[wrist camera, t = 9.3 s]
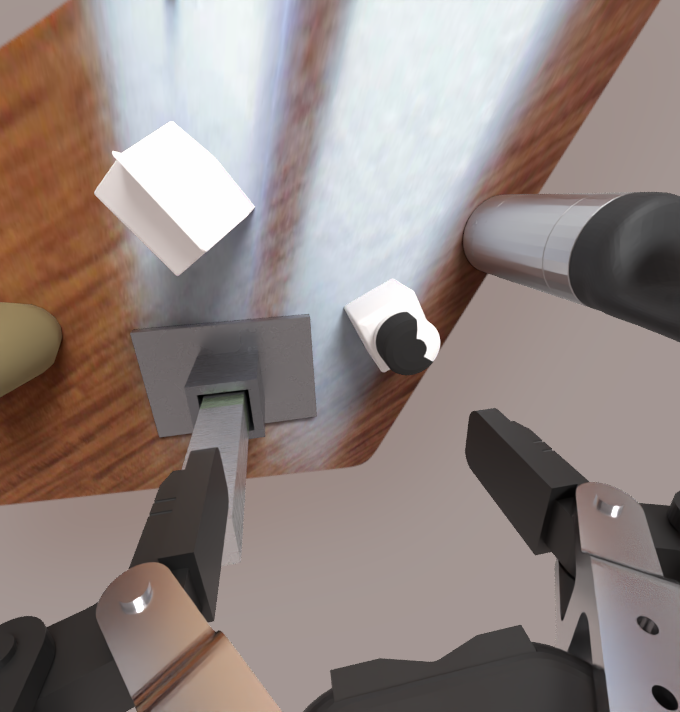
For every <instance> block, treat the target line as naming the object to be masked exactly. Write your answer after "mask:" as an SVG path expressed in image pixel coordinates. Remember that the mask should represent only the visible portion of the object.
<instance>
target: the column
mask: <svg viewBox="0 0 680 712" xmlns="http://www.w3.org/2000/svg"><path fill="white" fill-rule="evenodd" d="M249 422H250V415H249V408H248V402H247V395H246V390H237V391H229V392H220V393H212V394H204V397H203V400H202V404H201V407H200V410H199V414H198V417H197V420H196V424H195V427H194V430H193V434H192V437H191V440H190V444H189V447H188V450H187V454H186V457H185V460H184V464H183V467H182V470H185V467H186V464H187V461H188V457H189V454H190V452H191V451H193V450H200V449H207V448H214V447H218V448H219V451H220V455H221V459H222V464H223V468H224V473H225V478H226V482H227V487H228V496H229V508H228V516H227V524H226V532H225V539H224V547H223V555H222V563H221V566H224V565H229V564H234V563H239V562H241V551H242V550H241V549H242V533H243V519H244V502H245V485H246V470H247V454H248V438H249Z"/></svg>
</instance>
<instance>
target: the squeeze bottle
mask: <svg viewBox="0 0 680 712" xmlns="http://www.w3.org/2000/svg"><path fill="white" fill-rule="evenodd" d="M61 340H62V331H61V326H60V325H59V323H58V322H57V320H56V319H55V317H54V316H52V315H51V314H50V313H49V312H47V311H46V310H45V309H43V308H40V307H37V306H35V305H32V304H18V303H3V302H0V397H2V396H3V395H5V394H7V393H9V392H10V391H12V390H14V389H16V388H17V387H19V386H21V385H23V384H24V383H26V382H28V381H30V380H31V379H33V378H35V377H37V376H38V375H40V374H42V373H43V372H45V371H46V370H47V369H48V368H49V367H50V366H51V365H52V364H54V361H55V358H56V355H57V352H58V349H59V346H60V343H61Z"/></svg>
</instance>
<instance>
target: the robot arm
mask: <svg viewBox="0 0 680 712" xmlns="http://www.w3.org/2000/svg"><path fill="white" fill-rule="evenodd" d="M463 247H464V252H465V255H466V257H467V259H468V261H469V262H470V263H471V265H472V266H474V267H475V268H476V269H478V270H480V271H483V272H485V273H488V274H492V275H495V276H497V277H500V278H503V279H506V280H509V281H512V282H515V283H518V284H521V285H524V286H527V287H530V288H533V289H536V290H539V291H542V292H545V293H548V294H551V295H554V296H557V297H560V298H563V299H566V300H570V301H572V302H575V303H578V304H581V305H584V306H588V307H590V308H593V309H596V310H599V311H602V312H604V313H606V314H608V315H611V316H613V317H616V318H618V319H621V320H625V321H627V322H630V323H633V324H635V325H638V326H641V327H643V328H646V329H648V330H651V331H653V332H656V333H659V334H661V335H664V336H666V337H668V338H671V339H673V340H676V341H678V342H680V196H677V195H674V194H671V193H662V192H637V193H636V192H634V193H633V192H632V193H583V194H582V193H579V194H511V195H497V196H494V197H491V198H489V199H487V200H485V201H484V202H483V203H482V204H480V205H479V206H478V207H477V208H476V209H475V211H474V212H473V213H472V215H471V216H470V218H469V220H468V222H467V225H466V227H465V231H464V236H463ZM465 454H466V459H467V462H468V465H469V467H470V469H471V470H472V471H473V473H474V474H475V475H476V477H477V478H478V479H479V481H480V482H481V484H482V485H483V486H484V488H485V489H486V490H487V492H488V493H489V494H490V495H491V497H492V498H493V500H494V501H495V502H496V504H497V505H498V506H499V508H500V509H501V510H502V512H503V513H504V514H505V516H506V517H507V518H508V520H509V521H510V522H511V523H512V525H513V526H514V528H515V529H516V530H517V532H518V533H519V534H520V536H521V537H522V538H523V539H524V541H525V542H526V544H527V545H528V546H529V548H530V549H531V550H532V551H533V553H534V554H535V555H538V554H544V553H548V552H552V553H553V554H554V555H555V556H556V558H557V559H556V563H555V599H556V600H555V602H556V640H555V646H554V647H553V646H550V645H546V644H541V643H536V642H531V641H530V639H529V638H528V636H527V634H526V633H525V631H524V629H523V628H522V626H521V625H518V626H514V627H509V628H505V629H501V630H497V631H493V632H489V633H484V634H480V635H477V636H475V637H474V638H472V639H470V640H469V641H467V642H466V643H464V644H463V645H461V646H460V647H458V648H456V649H455V650H453V651H452V652H450V653H449V654H447V655H446V656H444V657H443V658H441V659H439V660H437V661H434V662H423V661H408V660H394V659H376V660H372V661H367V662H363V663H359V664H355V665H350V666H346V667H343V668H338V669H334V670H331V671H330V673H331V683H332V688H331V689H330V690H328V691H327V692H325V693H323V694H322V695H321V696H319V697H318V698H317V699H316V700H314V701H313V702H312V703H311V704H310V705H309V706H308V707H307V708H306V709H305V710H304V711H303V712H680V491H679V492H677V493H676V494H675V496H674V498H673V500H672V503H671V505H670V506H666V505H655V504H643V503H638V502H637V501H636V500H635V499H634V498H633V497H632V496H630V495H629V494H627V493H626V492H624V491H622V490H620V489H618V488H616V487H613V486H611V485H607V484H603V483H597V482H589V481H588V480H587V479H585V478H584V477H583V476H582V475H581V474H580V473H579V472H578V471H576V470H575V469H574V468H573V467H572V466H571V465H570V464H569V463H568V462H566V461H565V460H564V459H563V458H562V457H561V456H560V455H558V454H557V453H556V452H555V451H552V448H551V447H549V446H548V445H547V444H546V443H545V442H542V440H541V439H540V438H539V437H538V436H537V435H536V434H535V433H533V432H532V431H531V430H530V429H528V428H526V427H524V426H522V425H520V424H519V423H517V422H515V421H510V420H509V419H507V418H506V417H505V416H504V415H503V414H502V413H501V412H500V411H499V410H497V409H495V408H493V409H487V410H479V411H473V412H471V414H470V416H469V424H468V432H467V440H466V448H465ZM228 508H229V496H228V487H227V482H226V478H225V473H224V468H223V464H222V459H221V455H220V451H219V448H218V447H214V448H207V449H200V450H193V451H191V452H190V454H189V457H188V461H187V464H186V467H185V470H178V471H173V472H172V473H171V474H170V475H169V476H168V477H167V478H166V479H165V481H164V482H163V483H162V484H161V485H160V487H159V490H158V493H157V495H156V498H155V503H154V504H153V506H152V509H151V511H150V517H148V519H147V522H146V525H145V527H144V530H143V532H142V535H141V538H140V540H139V543H138V546H137V549H136V551H135V554H134V557H133V559H132V562H131V564H130V567H129V569H128V570H127V571H125V572H123V573H122V574H121V575H119V576H118V577H117V578H116V579H115V580H114V581H112V582H111V583H110V585H109V586H108V587H107V588H106V590H105V591H104V592H103V594H102V596H101V597H100V599H99V601H98V602H97V603H96V604H94V605H93V606H91V607H89V608H87V609H85V610H83V611H81V612H79V613H76V614H74V615H72V616H70V617H68V618H66V619H64V620H61V621H59V622H57V623H55V624H53V625H51V626H49V627H46V626H45V624H44V623H43V622H42V620H40V619H39V618H37V617H32V616H24V617H19V618H15V619H12V620H10V621H7V622H5V623H3V624H1V625H0V712H126V711H128V710H129V709H131V708H133V707H135V708H136V711H137V712H282V711H281V709H280V708H279V707H278V705H277V704H276V703H275V701H274V700H273V698H272V697H271V696H270V695H269V693H268V692H267V690H266V689H265V688H264V686H263V685H262V684H261V682H260V681H259V680H258V678H257V677H256V676H255V674H254V673H253V671H252V670H251V669H250V667H249V666H248V665H247V663H246V662H245V661H244V659H243V658H242V657H241V655H240V654H239V653H238V651H237V650H236V649H235V647H234V646H233V645H232V643H231V642H230V641H229V639H228V638H227V637H226V636H225V635H224V634H223V633H222V632H221V631H217V632H215V631H214V630H213V629H212V628H211V627H210V625H209V624H208V622H212V621H214V617H215V610H216V602H217V594H218V586H219V577H220V571H221V563H222V555H223V547H224V539H225V532H226V524H227V516H228Z"/></svg>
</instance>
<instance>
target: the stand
mask: <svg viewBox="0 0 680 712" xmlns="http://www.w3.org/2000/svg"><path fill="white" fill-rule="evenodd" d="M130 335H131V338H132V342H133V345H134V349H135V352H136V356H137V359H138V363H139V367H140V370H141V374H142V377H143V381H144V384H145V388H146V391H147V395H148V398H149V402H150V406H151V409H152V413H153V416H154V420H155V423H156V427H157V430H158V434H159V437H166V436H174V435H181V434H189V433H193V430H194V427H195V424H196V420H197V417H198V414H199V410H200V407H201V404H202V400H203V397H204V394H212V393H220V392H229V391H237V390H246V395H247V402H248V408H249V415H250V422H249V438H248V439H252V438H259V437H265V423H271V422H278V421H286V420H293V419H301V418H308V417H316V416H317V412H316V398H315V383H314V369H313V355H312V340H311V326H310V316H309V314H303V315H292V316H281V317H269V318H258V319H247V320H235V321H224V322H213V323H201V324H190V325H179V326H167V327H156V328H145V329H134V330H133V331H132V332H131V333H130Z"/></svg>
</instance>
